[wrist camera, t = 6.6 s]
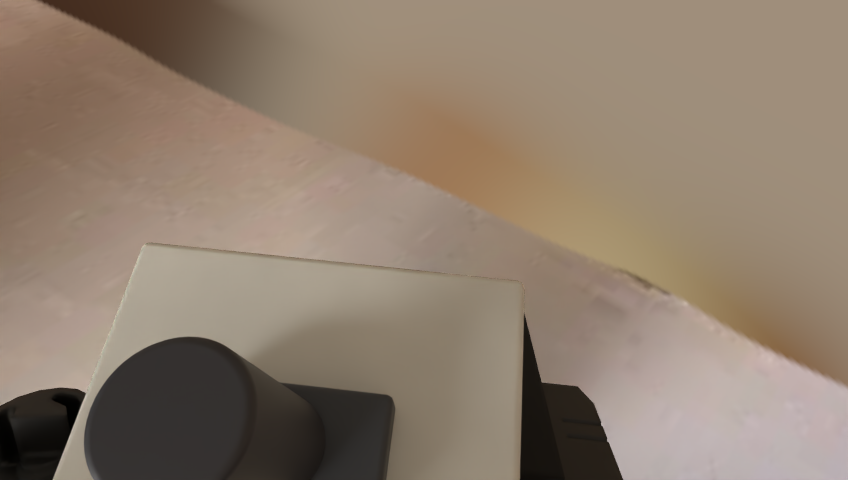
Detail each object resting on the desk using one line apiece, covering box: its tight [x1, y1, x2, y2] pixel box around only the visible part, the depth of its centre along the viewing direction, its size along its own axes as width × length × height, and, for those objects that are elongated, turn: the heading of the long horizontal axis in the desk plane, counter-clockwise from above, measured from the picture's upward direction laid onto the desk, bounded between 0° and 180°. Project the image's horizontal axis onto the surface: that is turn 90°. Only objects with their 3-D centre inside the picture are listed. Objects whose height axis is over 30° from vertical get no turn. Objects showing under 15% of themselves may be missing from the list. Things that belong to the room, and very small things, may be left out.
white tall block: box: [53, 243, 525, 480], centre depth 9 cm, size 4×4×14 cm
